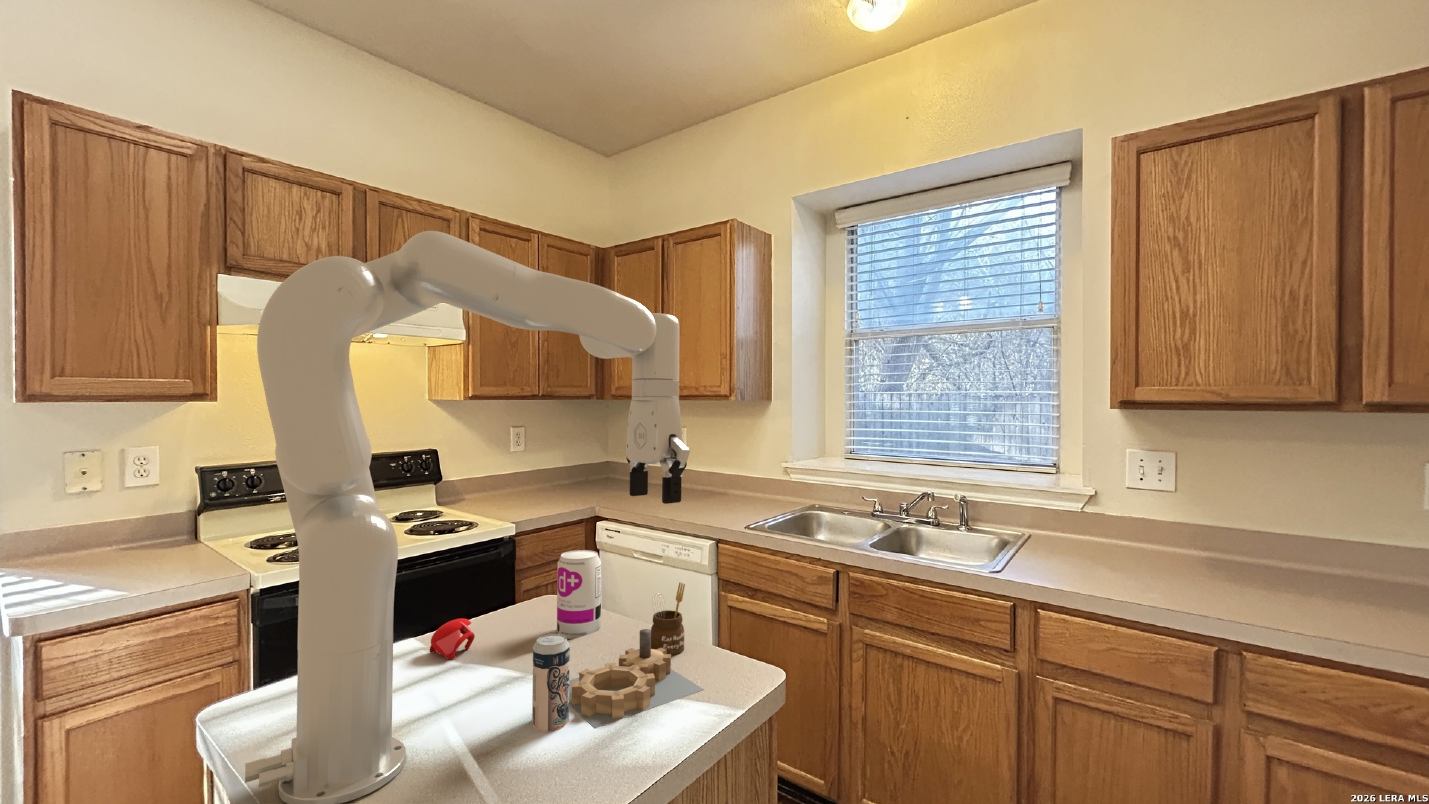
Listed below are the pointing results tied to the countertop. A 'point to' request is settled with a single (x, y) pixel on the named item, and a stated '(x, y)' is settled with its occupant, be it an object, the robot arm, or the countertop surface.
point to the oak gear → (613, 701)
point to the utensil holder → (668, 628)
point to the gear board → (664, 693)
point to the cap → (451, 637)
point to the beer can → (550, 682)
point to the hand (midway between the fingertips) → (654, 498)
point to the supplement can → (578, 593)
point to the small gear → (648, 657)
